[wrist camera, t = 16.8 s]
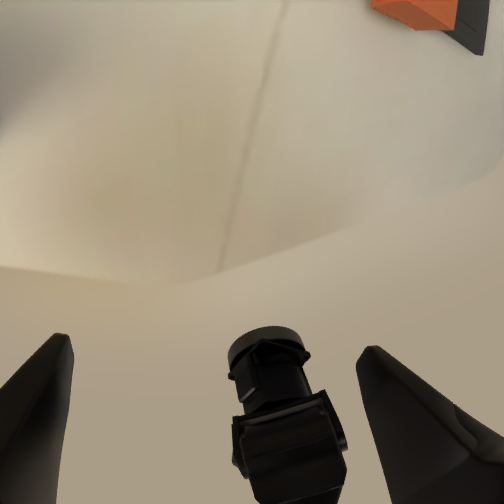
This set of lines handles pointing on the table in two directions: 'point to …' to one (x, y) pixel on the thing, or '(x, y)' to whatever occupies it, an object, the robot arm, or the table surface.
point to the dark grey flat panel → (471, 24)
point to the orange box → (420, 12)
